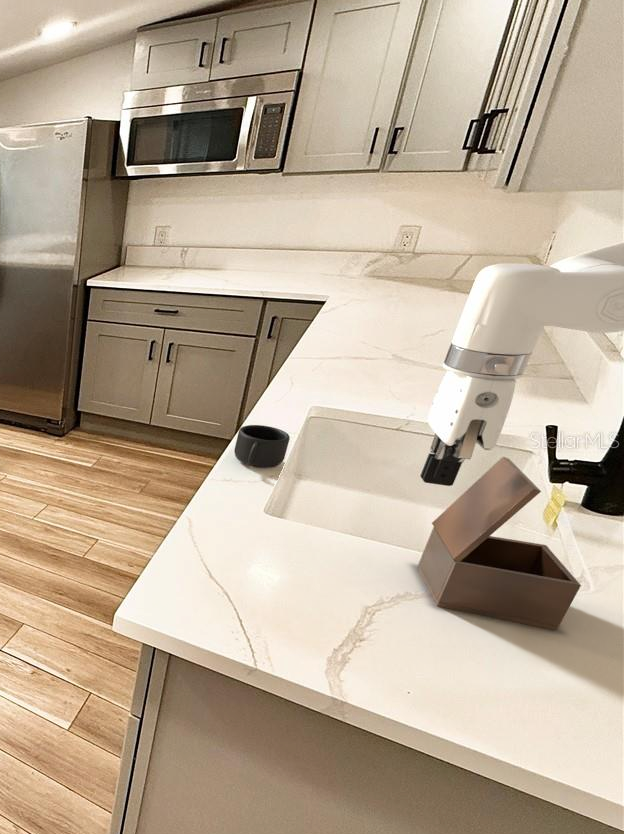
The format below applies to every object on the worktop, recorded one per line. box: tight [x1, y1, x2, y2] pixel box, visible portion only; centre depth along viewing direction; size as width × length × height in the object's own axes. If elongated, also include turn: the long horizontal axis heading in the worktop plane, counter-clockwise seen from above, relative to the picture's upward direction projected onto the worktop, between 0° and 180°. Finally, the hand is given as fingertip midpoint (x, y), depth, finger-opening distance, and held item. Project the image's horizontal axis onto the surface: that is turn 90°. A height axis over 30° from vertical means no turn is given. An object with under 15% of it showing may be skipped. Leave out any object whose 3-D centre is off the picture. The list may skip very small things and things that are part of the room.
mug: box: [233, 424, 291, 469], centre depth 131 cm, size 12×9×7 cm
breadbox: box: [416, 526, 582, 631], centre depth 90 cm, size 12×10×8 cm
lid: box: [431, 456, 542, 561], centre depth 87 cm, size 13×10×1 cm
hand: (435, 481), depth 89 cm, fingers closed
